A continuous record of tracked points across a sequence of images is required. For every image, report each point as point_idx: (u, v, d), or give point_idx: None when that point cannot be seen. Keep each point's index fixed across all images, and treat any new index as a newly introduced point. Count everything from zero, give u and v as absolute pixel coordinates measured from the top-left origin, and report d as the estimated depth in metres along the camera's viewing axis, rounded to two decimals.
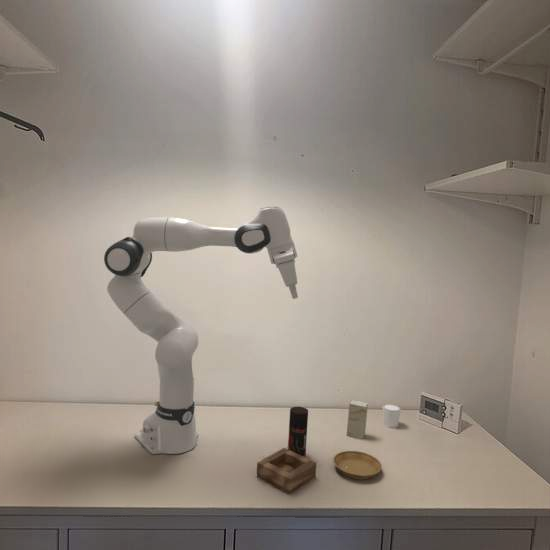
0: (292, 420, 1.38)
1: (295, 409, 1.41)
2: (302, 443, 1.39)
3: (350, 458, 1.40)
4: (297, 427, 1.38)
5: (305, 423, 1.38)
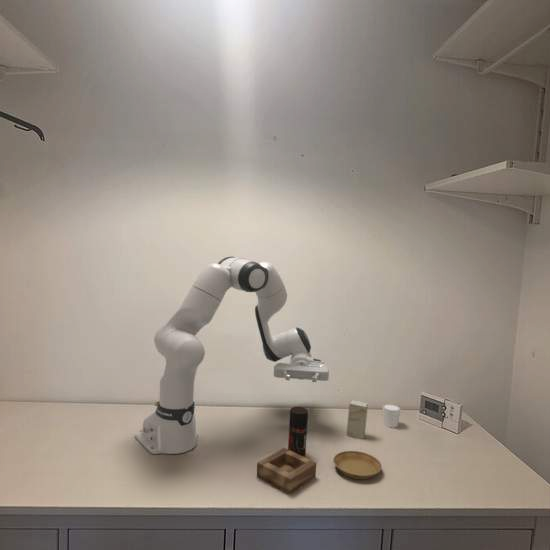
0: (292, 420, 1.38)
1: (295, 409, 1.41)
2: (302, 443, 1.39)
3: (351, 458, 1.40)
4: (297, 427, 1.38)
5: (305, 423, 1.38)
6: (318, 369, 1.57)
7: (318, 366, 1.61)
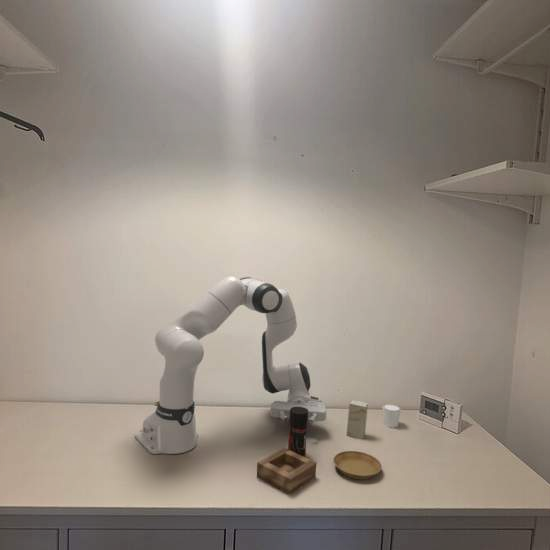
0: (292, 420, 1.38)
1: (295, 409, 1.41)
2: (302, 443, 1.39)
3: (351, 458, 1.40)
4: (297, 427, 1.38)
5: (305, 423, 1.38)
6: (315, 409, 1.55)
7: (315, 405, 1.59)
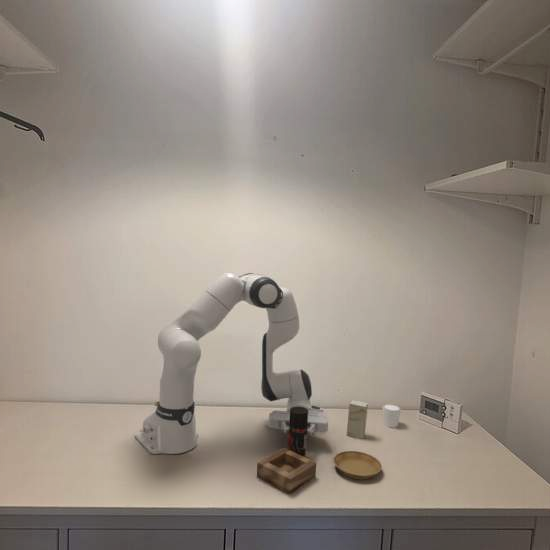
0: (292, 420, 1.38)
1: (295, 409, 1.41)
2: (302, 443, 1.39)
3: (351, 458, 1.40)
4: (297, 427, 1.38)
5: (305, 423, 1.38)
6: (317, 419, 1.46)
7: (317, 415, 1.49)
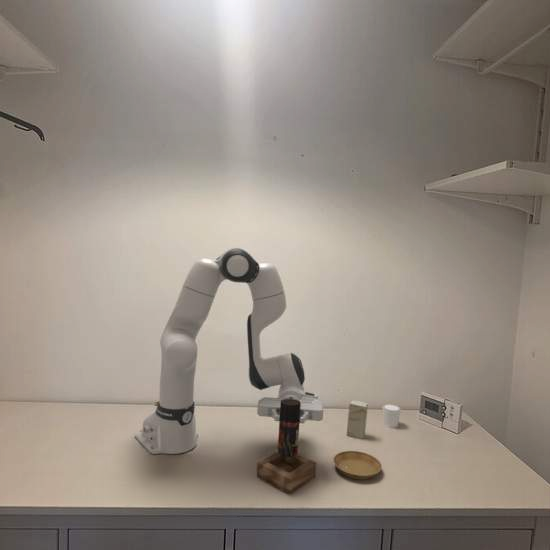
0: (283, 413, 1.25)
1: (286, 401, 1.27)
2: (294, 439, 1.24)
3: (351, 458, 1.40)
4: (288, 420, 1.24)
5: (297, 416, 1.25)
6: (311, 406, 1.32)
7: (311, 402, 1.35)
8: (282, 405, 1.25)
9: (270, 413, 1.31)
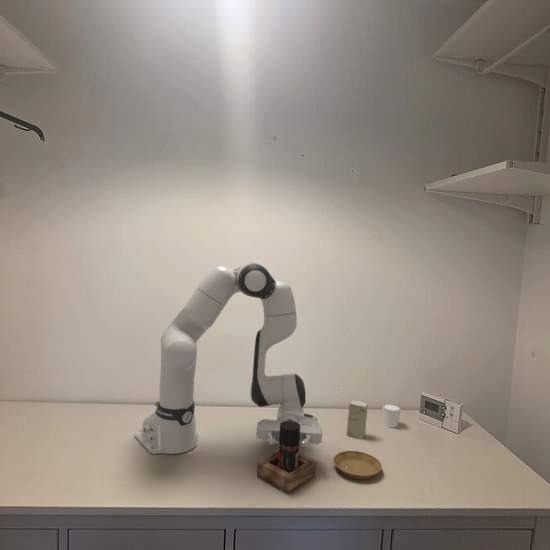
0: (282, 437, 1.24)
1: (285, 424, 1.26)
2: (294, 462, 1.24)
3: (351, 458, 1.40)
4: (288, 444, 1.23)
5: (297, 440, 1.24)
6: (309, 429, 1.32)
7: (310, 424, 1.35)
8: (281, 429, 1.24)
9: None
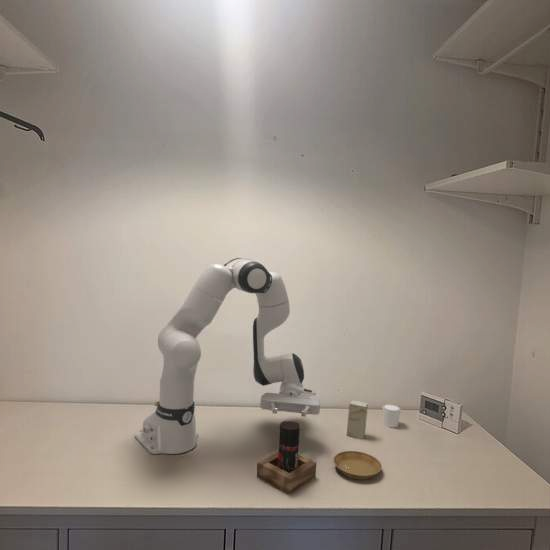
0: (282, 436, 1.24)
1: (285, 424, 1.26)
2: (294, 462, 1.24)
3: (350, 458, 1.40)
4: (287, 444, 1.23)
5: (296, 440, 1.24)
6: (308, 401, 1.45)
7: (309, 398, 1.49)
8: (281, 429, 1.24)
9: None
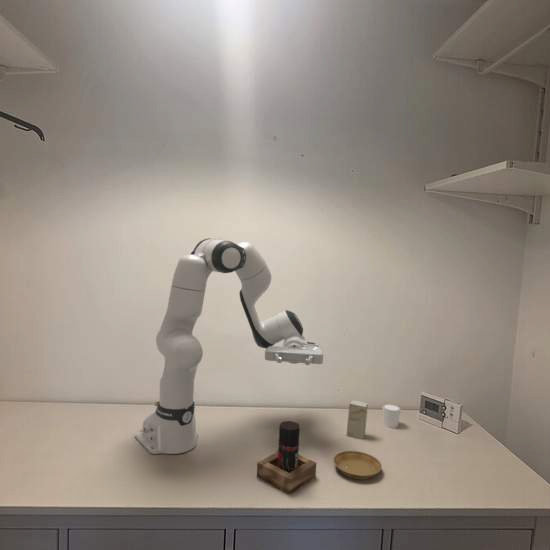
0: (282, 437, 1.24)
1: (285, 424, 1.26)
2: (294, 462, 1.24)
3: (350, 458, 1.40)
4: (287, 444, 1.23)
5: (296, 440, 1.24)
6: (312, 352, 1.49)
7: (312, 349, 1.52)
8: (281, 429, 1.24)
9: None
